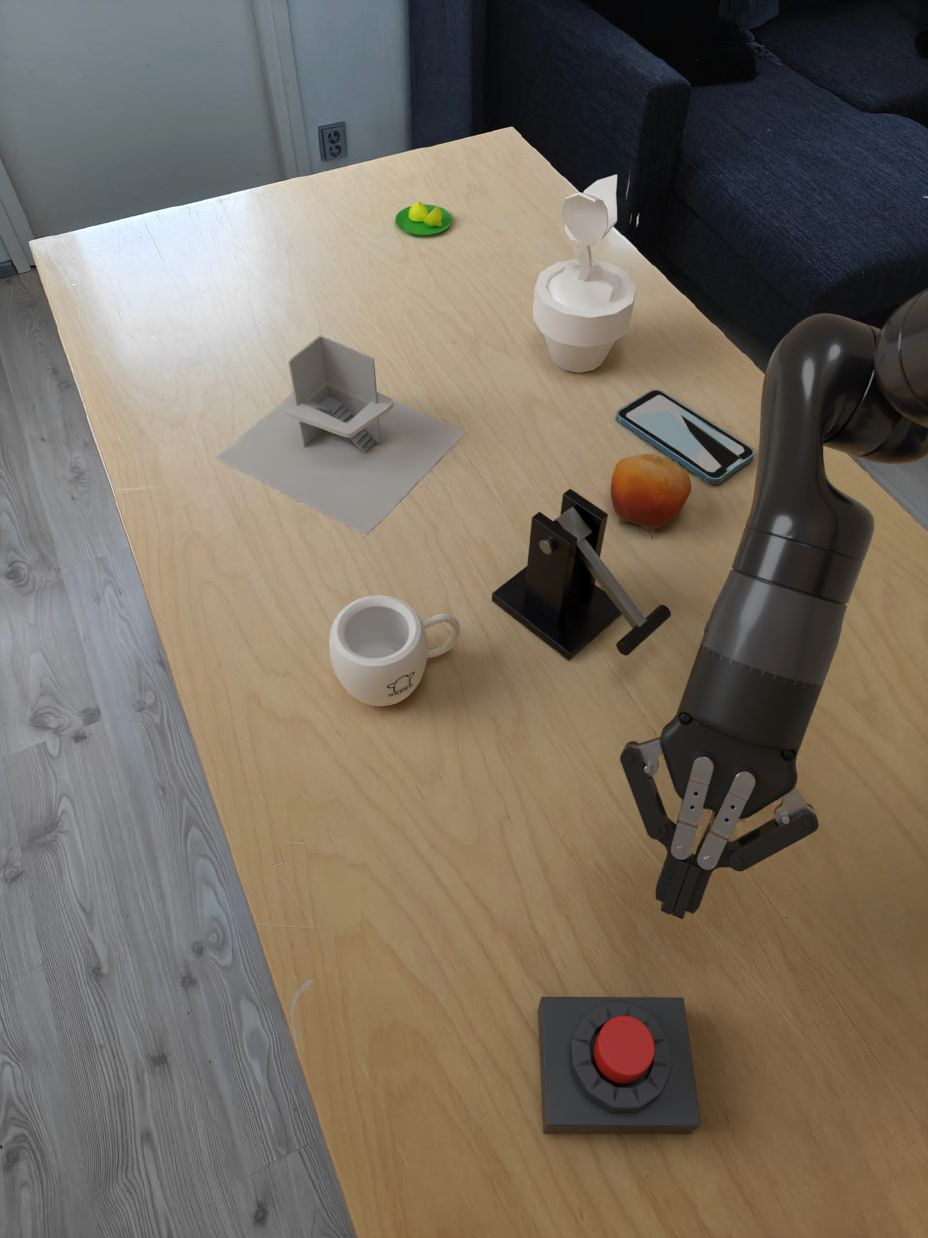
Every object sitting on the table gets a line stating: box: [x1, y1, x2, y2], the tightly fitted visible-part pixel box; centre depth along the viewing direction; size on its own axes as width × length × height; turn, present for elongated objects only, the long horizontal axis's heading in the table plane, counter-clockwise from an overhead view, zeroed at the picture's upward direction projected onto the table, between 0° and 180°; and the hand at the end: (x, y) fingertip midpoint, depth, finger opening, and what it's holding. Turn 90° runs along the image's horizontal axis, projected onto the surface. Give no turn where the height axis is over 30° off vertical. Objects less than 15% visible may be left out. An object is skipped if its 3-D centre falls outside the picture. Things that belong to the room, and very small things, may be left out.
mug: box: [328, 594, 461, 707], centre depth 82 cm, size 12×8×8 cm
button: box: [594, 1016, 655, 1084], centre depth 60 cm, size 4×4×2 cm
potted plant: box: [532, 169, 640, 374], centre depth 103 cm, size 13×12×25 cm
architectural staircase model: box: [214, 334, 467, 537], centre depth 98 cm, size 19×21×12 cm
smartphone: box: [615, 388, 756, 485], centre depth 104 cm, size 7×1×15 cm
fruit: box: [610, 453, 692, 540], centre depth 95 cm, size 8×8×8 cm
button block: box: [537, 996, 702, 1135], centre depth 63 cm, size 10×8×5 cm
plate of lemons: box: [394, 200, 453, 236], centre depth 130 cm, size 8×8×3 cm
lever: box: [553, 507, 672, 657], centre depth 81 cm, size 13×6×2 cm, turn 45°
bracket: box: [491, 488, 622, 661], centre depth 84 cm, size 10×8×13 cm
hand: (672, 910), depth 59 cm, fingers closed
